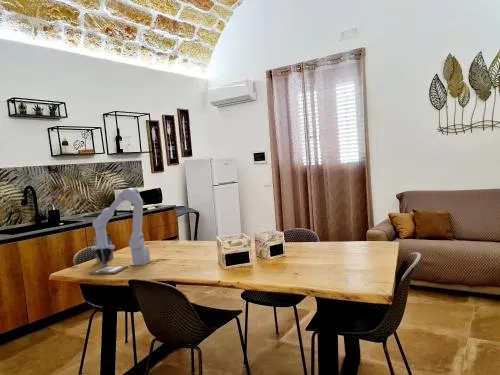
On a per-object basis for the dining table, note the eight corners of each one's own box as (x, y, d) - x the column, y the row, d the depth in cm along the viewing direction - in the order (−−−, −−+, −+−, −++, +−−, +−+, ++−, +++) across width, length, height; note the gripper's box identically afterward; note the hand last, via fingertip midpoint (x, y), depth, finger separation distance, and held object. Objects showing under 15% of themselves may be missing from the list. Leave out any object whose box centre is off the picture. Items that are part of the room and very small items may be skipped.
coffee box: (105, 261, 229) (102, 236, 227) (96, 262, 230) (93, 236, 229) (114, 257, 238) (110, 232, 236) (105, 258, 239) (101, 233, 238)
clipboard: (128, 267, 211) (127, 264, 210) (115, 274, 199) (115, 270, 199) (103, 267, 215) (103, 264, 214) (90, 274, 203) (89, 271, 203)
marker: (109, 265, 219) (107, 248, 218) (106, 267, 216) (103, 250, 215) (104, 265, 220) (102, 249, 219) (101, 267, 217) (99, 250, 216)
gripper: (86, 240, 214) (89, 263, 215) (108, 239, 211) (111, 263, 212) (94, 237, 221) (97, 260, 222) (115, 236, 218) (118, 259, 219)
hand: (104, 261), depth 218 cm, fingers closed on marker, 3 cm apart
